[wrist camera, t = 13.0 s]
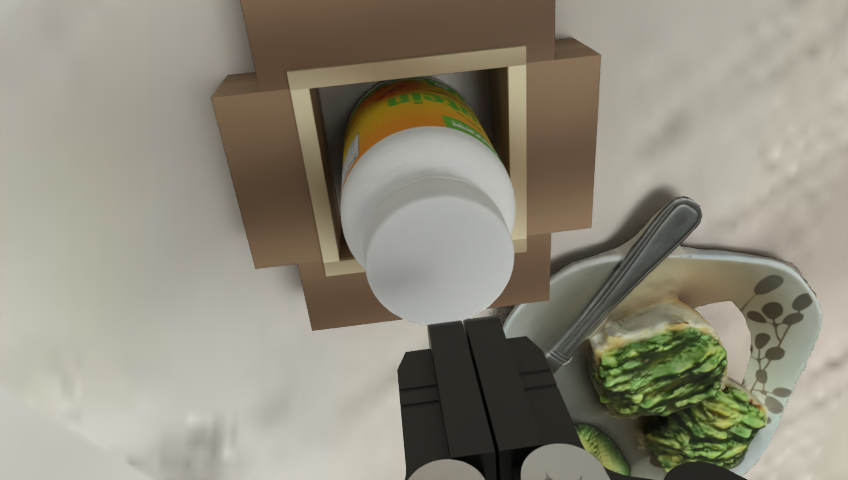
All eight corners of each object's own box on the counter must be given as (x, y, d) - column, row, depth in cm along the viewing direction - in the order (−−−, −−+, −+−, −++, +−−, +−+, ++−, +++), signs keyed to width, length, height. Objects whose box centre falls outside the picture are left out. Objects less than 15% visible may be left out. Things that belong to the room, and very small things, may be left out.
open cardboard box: (205, -18, 21) (182, -7, 18) (576, -56, 22) (609, -50, 19) (280, 294, 27) (272, 338, 24) (565, 259, 28) (588, 298, 25)
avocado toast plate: (491, 169, 26) (515, 217, 22) (866, 195, 28) (951, 243, 24) (436, 484, 35) (446, 559, 31) (724, 483, 37) (768, 553, 33)
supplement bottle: (494, 88, 24) (571, 191, 15) (458, 210, 26) (507, 357, 18) (357, 58, 23) (359, 150, 14) (332, 188, 25) (321, 333, 17)
